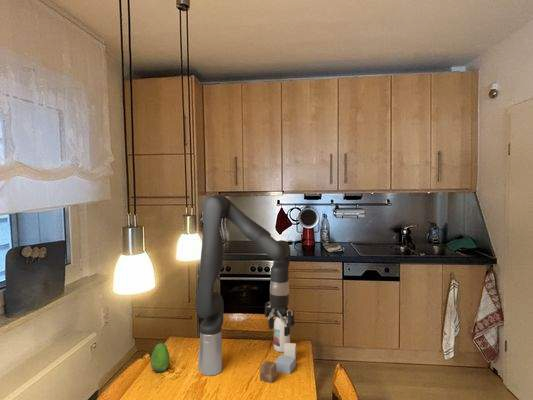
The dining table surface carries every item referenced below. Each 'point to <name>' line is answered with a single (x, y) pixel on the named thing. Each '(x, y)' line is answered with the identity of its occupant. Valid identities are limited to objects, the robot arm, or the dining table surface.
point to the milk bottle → (280, 335)
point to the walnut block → (268, 371)
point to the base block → (285, 364)
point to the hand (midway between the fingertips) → (278, 332)
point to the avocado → (160, 358)
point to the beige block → (290, 349)
